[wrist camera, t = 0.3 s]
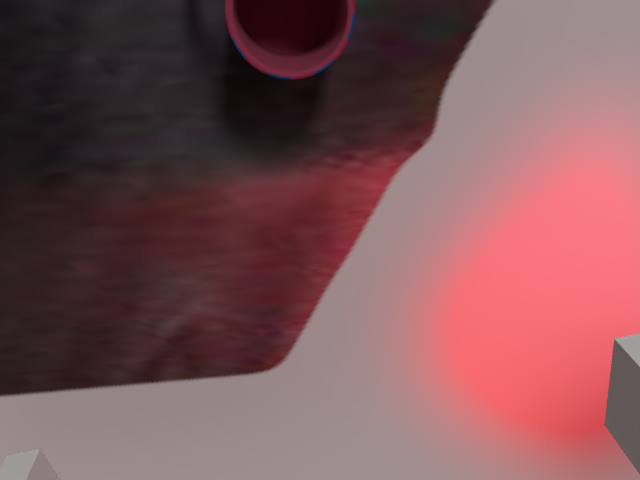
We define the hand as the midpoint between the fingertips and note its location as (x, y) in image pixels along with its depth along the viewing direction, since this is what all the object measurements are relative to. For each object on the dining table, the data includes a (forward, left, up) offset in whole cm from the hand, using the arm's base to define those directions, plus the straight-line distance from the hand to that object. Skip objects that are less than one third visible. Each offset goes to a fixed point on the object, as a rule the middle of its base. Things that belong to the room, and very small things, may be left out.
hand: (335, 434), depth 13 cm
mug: (-9, 0, -28) cm, 29 cm away
